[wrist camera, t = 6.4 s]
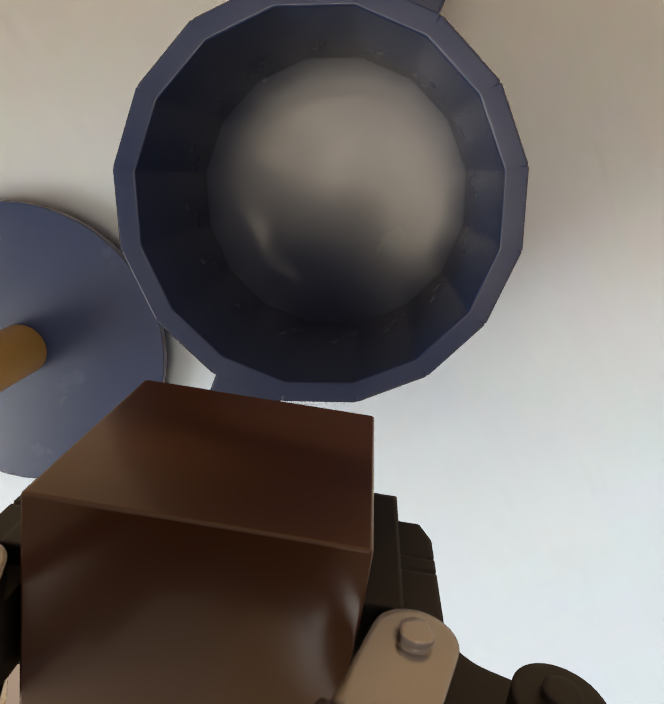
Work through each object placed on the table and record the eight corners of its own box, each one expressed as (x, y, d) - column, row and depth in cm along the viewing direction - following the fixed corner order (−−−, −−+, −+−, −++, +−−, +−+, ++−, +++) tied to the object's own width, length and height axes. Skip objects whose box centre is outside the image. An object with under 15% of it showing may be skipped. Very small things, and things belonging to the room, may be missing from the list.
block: (132, 575, 14) (17, 766, 10) (144, 378, 13) (18, 492, 8) (340, 610, 14) (322, 819, 10) (374, 415, 13) (374, 551, 8)
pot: (142, 324, 30) (48, 386, 22) (274, -79, 25) (221, -210, 16) (384, 423, 31) (387, 522, 22) (561, 48, 26) (654, -15, 17)
